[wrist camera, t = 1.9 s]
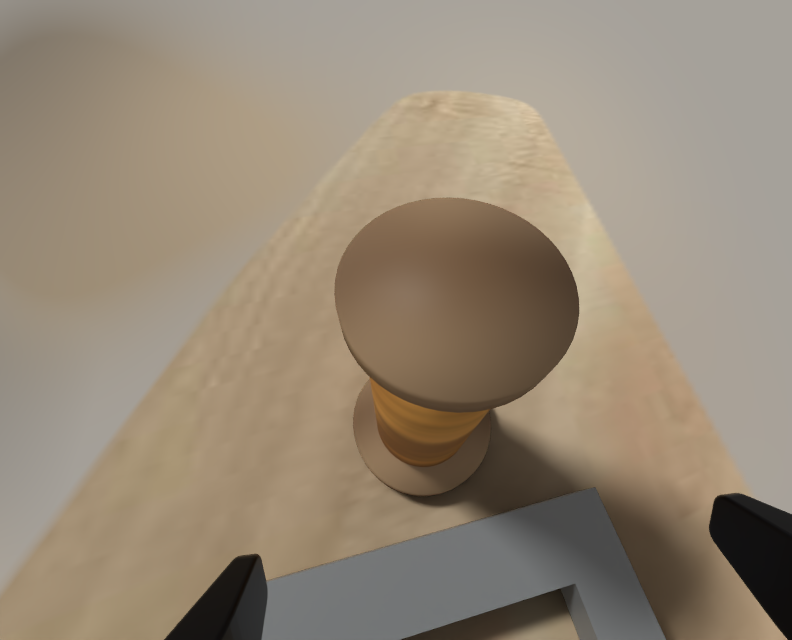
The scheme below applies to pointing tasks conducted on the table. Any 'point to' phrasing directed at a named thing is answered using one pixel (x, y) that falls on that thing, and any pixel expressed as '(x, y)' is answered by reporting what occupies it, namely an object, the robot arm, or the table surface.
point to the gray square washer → (472, 579)
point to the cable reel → (447, 332)
